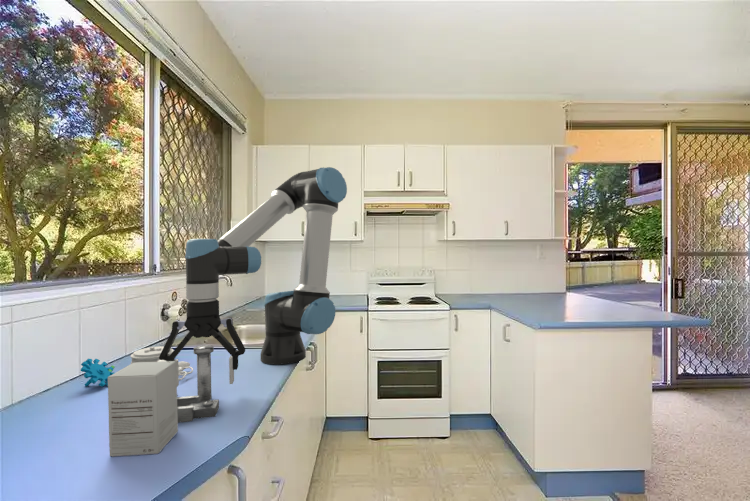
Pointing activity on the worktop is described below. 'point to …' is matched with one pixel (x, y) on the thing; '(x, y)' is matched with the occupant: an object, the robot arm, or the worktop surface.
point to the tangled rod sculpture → (182, 367)
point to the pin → (204, 371)
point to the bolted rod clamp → (195, 408)
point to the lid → (148, 354)
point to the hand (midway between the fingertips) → (204, 384)
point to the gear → (96, 372)
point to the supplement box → (142, 408)
